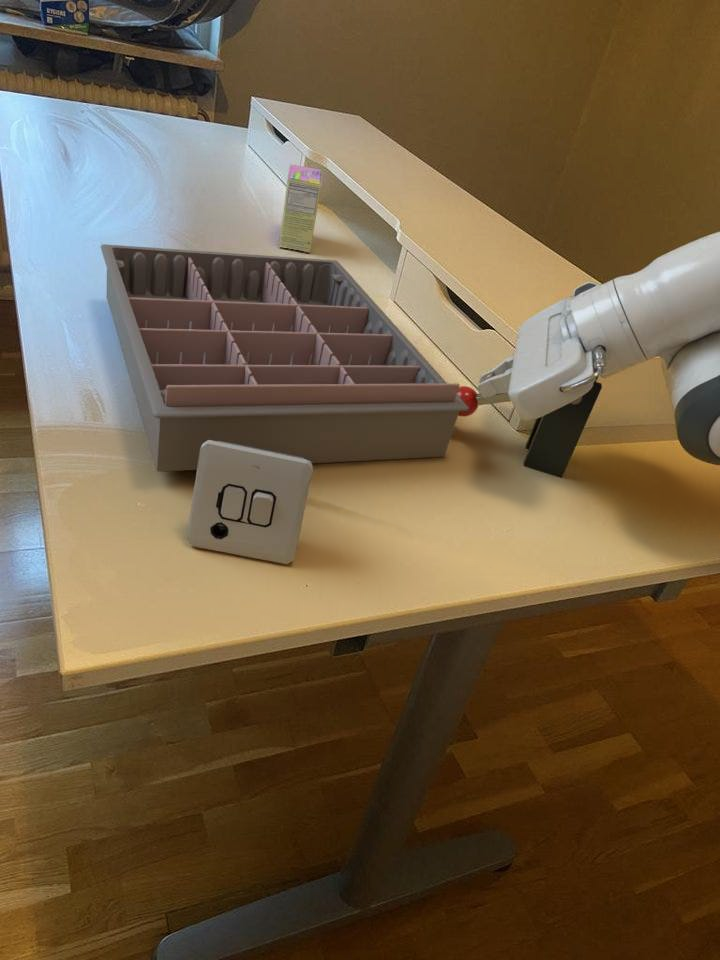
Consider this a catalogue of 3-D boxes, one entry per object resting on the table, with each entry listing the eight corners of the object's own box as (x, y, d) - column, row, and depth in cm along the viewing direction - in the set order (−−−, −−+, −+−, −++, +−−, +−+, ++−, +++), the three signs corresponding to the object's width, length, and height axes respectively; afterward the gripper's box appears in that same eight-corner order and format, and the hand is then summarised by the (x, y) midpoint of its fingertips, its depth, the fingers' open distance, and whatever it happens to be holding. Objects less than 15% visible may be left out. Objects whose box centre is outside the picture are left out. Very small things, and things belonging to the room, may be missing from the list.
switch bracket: (485, 476, 81) (523, 374, 74) (492, 434, 90) (527, 338, 82) (591, 509, 80) (640, 408, 73) (589, 463, 89) (633, 369, 82)
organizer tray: (327, 312, 109) (340, 246, 104) (450, 471, 81) (476, 391, 75) (99, 303, 96) (100, 227, 91) (149, 489, 68) (154, 395, 62)
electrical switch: (183, 547, 62) (195, 451, 58) (197, 515, 67) (209, 424, 62) (293, 568, 63) (312, 475, 59) (299, 535, 68) (318, 446, 63)
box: (280, 229, 136) (290, 162, 130) (311, 235, 137) (322, 169, 130) (277, 248, 128) (287, 177, 121) (309, 254, 129) (321, 184, 122)
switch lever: (449, 423, 83) (443, 396, 81) (453, 410, 86) (448, 383, 84) (590, 405, 78) (586, 376, 76) (589, 392, 81) (586, 363, 79)
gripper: (621, 401, 68) (485, 456, 74) (610, 324, 85) (501, 375, 91) (592, 343, 66) (455, 405, 72) (587, 276, 82) (477, 331, 89)
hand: (481, 387), depth 81 cm, fingers closed, pressing on switch lever
